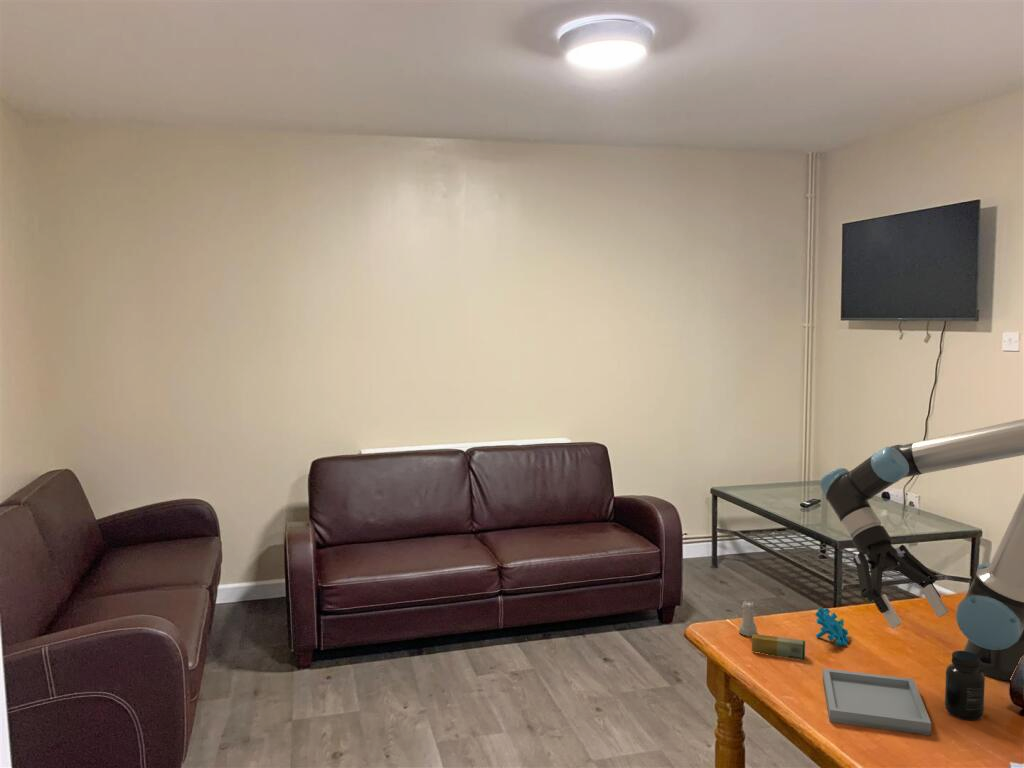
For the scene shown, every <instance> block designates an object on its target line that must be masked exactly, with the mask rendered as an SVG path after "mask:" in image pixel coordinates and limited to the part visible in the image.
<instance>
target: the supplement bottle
mask: <svg viewBox="0 0 1024 768" xmlns="http://www.w3.org/2000/svg"><path fill="white" fill-rule="evenodd" d="M979 663H980V658H979V657H978V656H977V655H976V654H974V653H971V652H967V651H964V650H955V651H953V652H952V653H951V663H950V664H949V665H948V666H947V667H946V668H945V688H944V691H945V692H944V693H945V694H944V708H945V710H946V712H947V713H948V714H950V715H951V716H952V717H955V718H957V719H962V720H964V721H965V720H966V721H977V720H980V719H982V718H983V717H984V712H985V686H986V675H985V674H984V673H983V672H982V671H981V670H980V669H979V667H980V664H979Z"/></svg>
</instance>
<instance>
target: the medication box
mask: <svg viewBox="0 0 1024 768" xmlns="http://www.w3.org/2000/svg"><path fill="white" fill-rule="evenodd" d="M752 651H754V652H760V653H764V654H763V655H765V654H768V655H767V656H771V655H774V656H773V657H778V656H780V657H779V658H785V657H787V658H786V659H792V658H793V659H792V660H798V659H799V661H805V660H806V640H804V639H796V638H789V637H781V636H773V635H766V634H760V633H759V634H758V633H757V634H753V635H752V637H751V652H752Z"/></svg>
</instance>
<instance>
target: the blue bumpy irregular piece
mask: <svg viewBox="0 0 1024 768" xmlns="http://www.w3.org/2000/svg"><path fill="white" fill-rule="evenodd" d="M830 613H831V610H830V609H829V608H828V607H825V608H823V607H819V608H817V611H816V612H815V616H816V617H817V618H816V624H818V625H821V626H822V627H820V630H821V631H819V632H818V633H816V634H815V636H816V638H817V639H820V638H821V637H823V636H825V635H826V634H828V635H827V639H828V641H830V642H832V641H834V644H835V645H836V646H838V647H840V646H842V647H847V646H848V642H849V641H850V637H849V636H848V635H849V631H848V630H847V629H846V628H844V626H845V624H844V623H845V620H844V619H843V618H840V619H839V620H836V618H838V615H837V614H836V613H835V612H832V613H831V614H830Z"/></svg>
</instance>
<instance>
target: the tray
mask: <svg viewBox="0 0 1024 768" xmlns="http://www.w3.org/2000/svg"><path fill="white" fill-rule="evenodd" d="M822 683H823V690H824V695H825V696H824V697H825V702H826V708H827V715H828V720H829V723H836V724H841V725H842V724H843V725H849V726H857V727H864V728H865V727H866V728H871V729H878V730H879V729H880V730H885V731H886V730H888V731H894V732H902V733H910V734H916V735H924V736H931V735H932V721H931V719H930V716H929V714H928V711H927V709H926V706H925V704H924V701H923V699H922V697H921V694H920V692H919V689H918V687H917V684H916V682H915V678H908V677H900V676H899V677H898V676H890V675H883V674H882V675H881V674H875V673H874V674H873V673H866V672H857V671H848V670H841V669H840V670H839V669H832V668H822Z"/></svg>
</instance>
